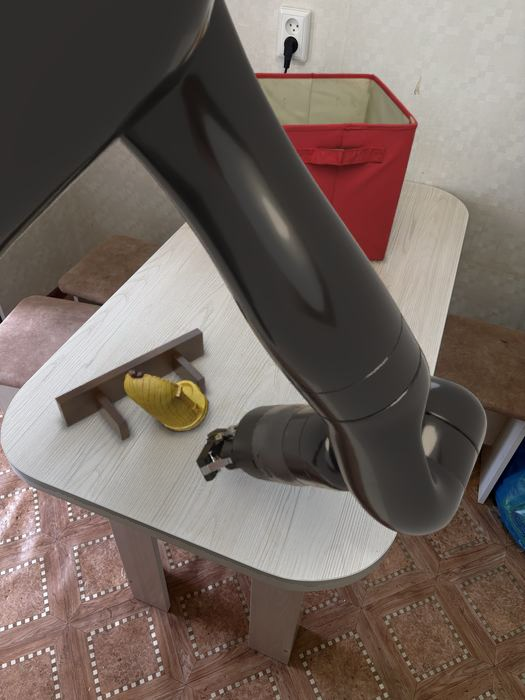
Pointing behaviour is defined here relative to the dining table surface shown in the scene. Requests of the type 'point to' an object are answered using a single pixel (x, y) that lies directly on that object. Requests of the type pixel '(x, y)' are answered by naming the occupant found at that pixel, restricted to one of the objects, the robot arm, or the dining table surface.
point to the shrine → (168, 400)
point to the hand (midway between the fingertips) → (214, 439)
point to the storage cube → (348, 145)
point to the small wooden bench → (111, 384)
